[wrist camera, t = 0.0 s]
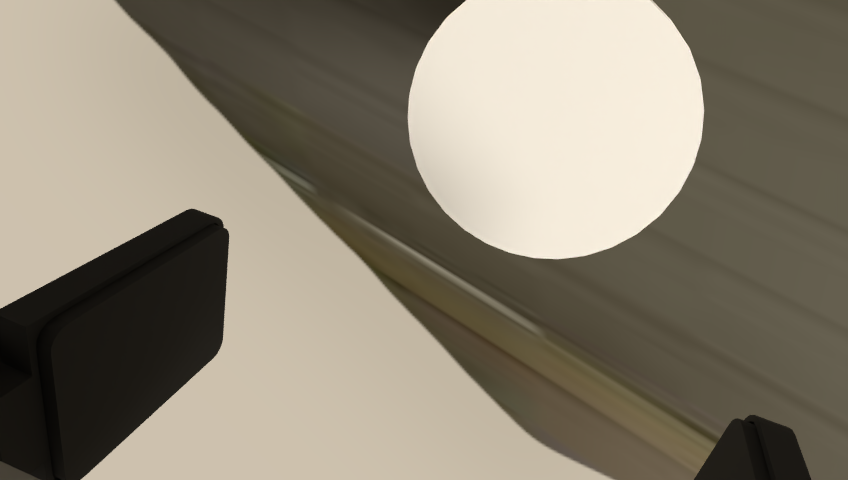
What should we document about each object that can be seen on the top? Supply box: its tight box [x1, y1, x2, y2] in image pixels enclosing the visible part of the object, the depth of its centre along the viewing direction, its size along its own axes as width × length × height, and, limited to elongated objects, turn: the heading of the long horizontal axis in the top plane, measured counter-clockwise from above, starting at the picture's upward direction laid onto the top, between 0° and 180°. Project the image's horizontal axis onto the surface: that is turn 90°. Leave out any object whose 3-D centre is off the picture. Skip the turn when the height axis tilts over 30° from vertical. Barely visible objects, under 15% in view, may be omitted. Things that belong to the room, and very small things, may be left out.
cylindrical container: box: [408, 0, 704, 259], centre depth 25 cm, size 7×7×25 cm
